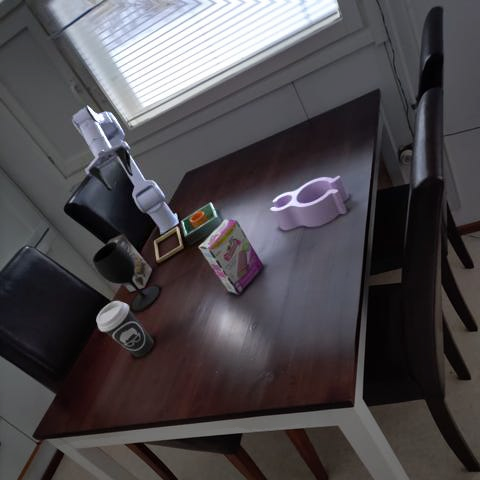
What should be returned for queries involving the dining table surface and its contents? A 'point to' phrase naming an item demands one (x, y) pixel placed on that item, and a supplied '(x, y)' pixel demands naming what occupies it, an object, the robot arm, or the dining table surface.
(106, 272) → the wine glass
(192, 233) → the basin
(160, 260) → the tray
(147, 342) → the coffee cup
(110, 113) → the robot arm
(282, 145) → the dining table surface
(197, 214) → the bowl
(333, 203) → the clip
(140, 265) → the coffee box
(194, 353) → the dining table surface
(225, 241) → the candy bar box
